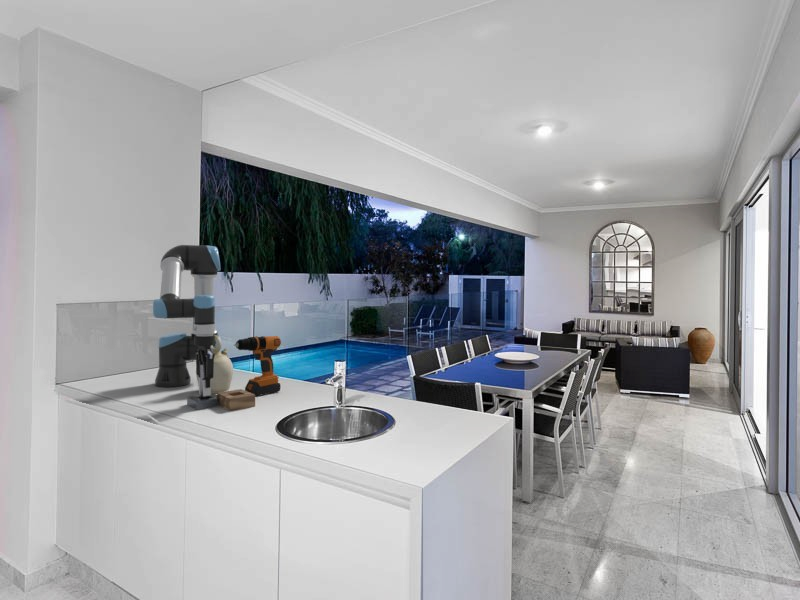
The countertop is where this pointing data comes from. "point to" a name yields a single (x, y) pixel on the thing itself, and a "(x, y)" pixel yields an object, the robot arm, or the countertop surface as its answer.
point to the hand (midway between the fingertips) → (204, 394)
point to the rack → (236, 399)
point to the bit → (202, 382)
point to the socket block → (203, 402)
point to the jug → (220, 369)
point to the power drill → (262, 363)
